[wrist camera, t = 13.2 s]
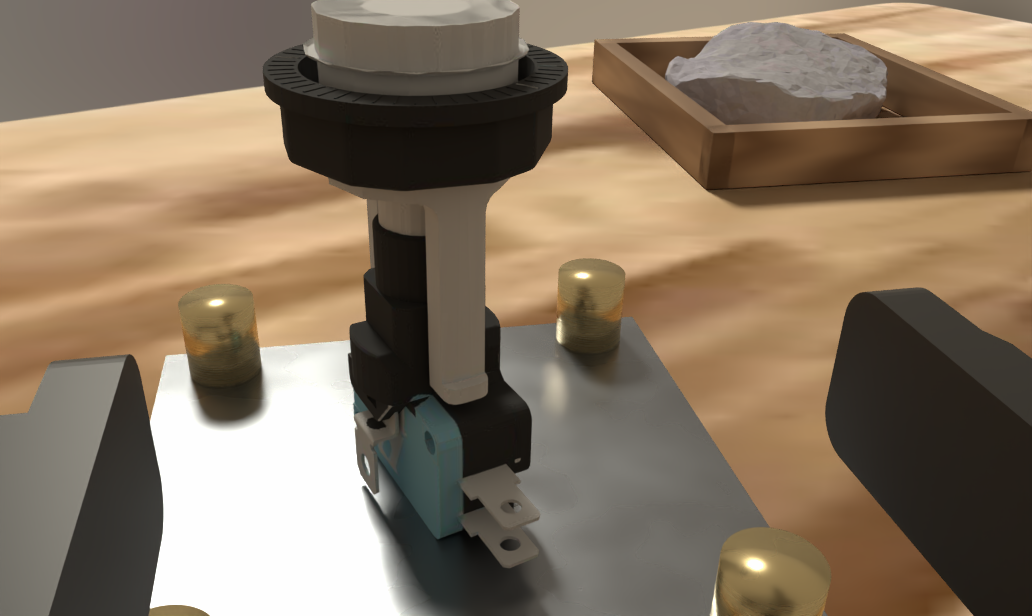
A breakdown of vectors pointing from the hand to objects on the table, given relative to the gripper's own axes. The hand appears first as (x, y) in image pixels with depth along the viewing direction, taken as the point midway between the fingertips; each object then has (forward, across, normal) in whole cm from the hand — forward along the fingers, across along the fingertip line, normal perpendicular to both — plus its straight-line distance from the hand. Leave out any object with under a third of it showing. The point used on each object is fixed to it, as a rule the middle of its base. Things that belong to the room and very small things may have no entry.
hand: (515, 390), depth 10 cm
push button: (+7, 0, +7) cm, 10 cm away
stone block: (+36, -22, +9) cm, 44 cm away
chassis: (+8, 0, +8) cm, 11 cm away
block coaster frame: (+35, -22, +8) cm, 43 cm away
